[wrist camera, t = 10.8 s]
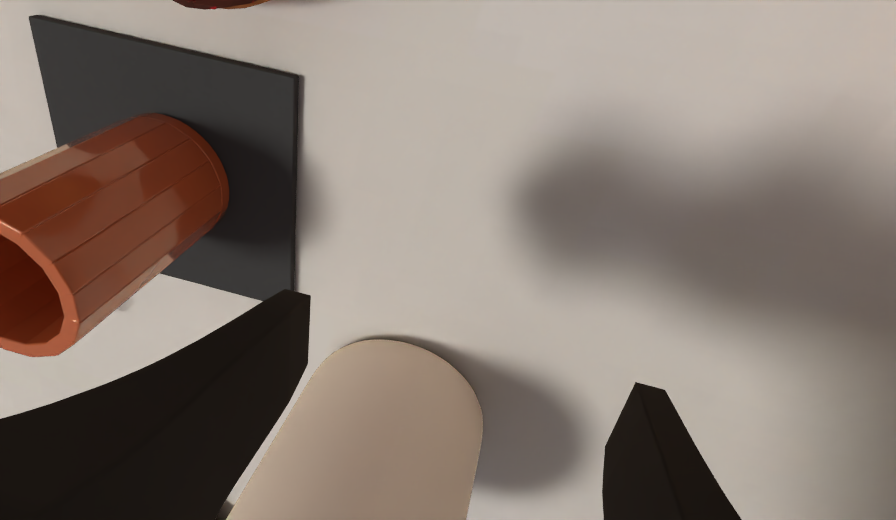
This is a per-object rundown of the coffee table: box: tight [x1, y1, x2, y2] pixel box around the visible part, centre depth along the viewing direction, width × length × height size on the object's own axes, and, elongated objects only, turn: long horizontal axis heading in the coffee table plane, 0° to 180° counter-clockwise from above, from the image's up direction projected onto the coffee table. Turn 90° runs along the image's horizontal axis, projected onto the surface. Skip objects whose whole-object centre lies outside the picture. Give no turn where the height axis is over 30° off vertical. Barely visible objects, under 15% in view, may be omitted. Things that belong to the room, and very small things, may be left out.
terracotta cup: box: [0, 113, 229, 357], centre depth 19 cm, size 5×5×8 cm
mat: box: [29, 15, 299, 301], centre depth 23 cm, size 10×10×1 cm
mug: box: [226, 340, 483, 520], centre depth 23 cm, size 12×8×10 cm
